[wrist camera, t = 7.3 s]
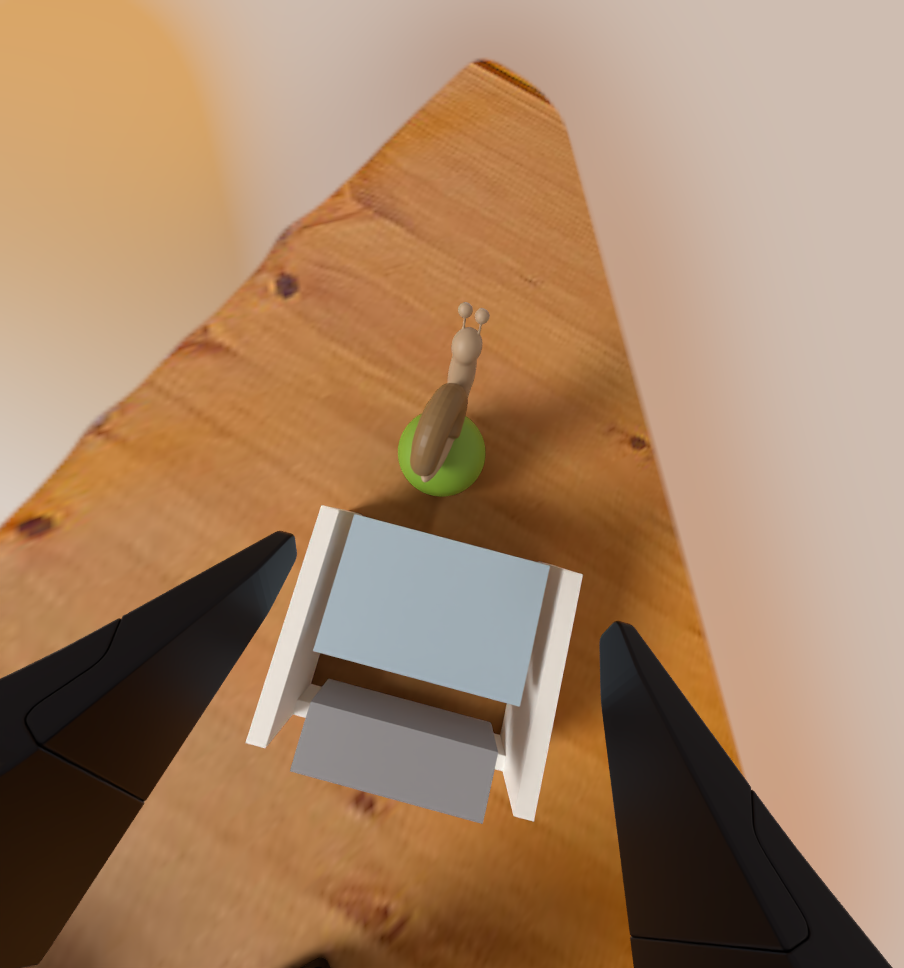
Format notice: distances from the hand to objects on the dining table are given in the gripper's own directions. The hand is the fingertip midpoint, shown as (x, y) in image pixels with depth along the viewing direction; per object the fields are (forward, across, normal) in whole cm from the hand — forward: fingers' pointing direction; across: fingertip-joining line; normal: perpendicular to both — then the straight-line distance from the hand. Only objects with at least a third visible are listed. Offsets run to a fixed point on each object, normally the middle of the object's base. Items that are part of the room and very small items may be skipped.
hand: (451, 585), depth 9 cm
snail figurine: (+14, +2, +5) cm, 15 cm away
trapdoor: (+4, 0, +10) cm, 11 cm away
